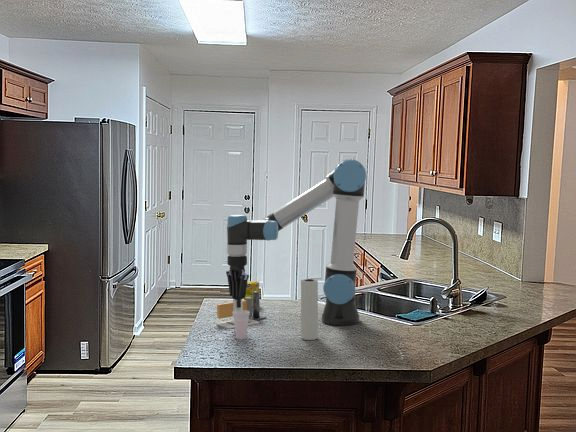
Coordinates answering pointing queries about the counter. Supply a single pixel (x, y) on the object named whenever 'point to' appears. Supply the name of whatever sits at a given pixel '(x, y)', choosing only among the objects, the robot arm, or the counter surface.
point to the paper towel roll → (309, 309)
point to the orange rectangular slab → (227, 308)
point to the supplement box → (251, 289)
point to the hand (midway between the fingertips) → (237, 315)
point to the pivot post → (256, 307)
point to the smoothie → (241, 323)
